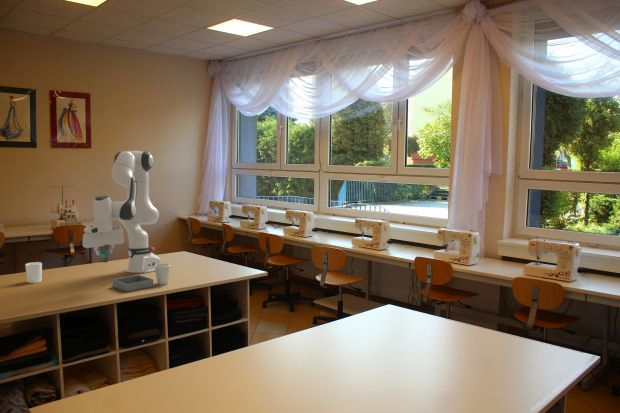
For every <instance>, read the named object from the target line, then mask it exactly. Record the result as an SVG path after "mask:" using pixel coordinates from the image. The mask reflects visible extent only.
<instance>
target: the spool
mask: <svg viewBox="0 0 620 413" xmlns="http://www.w3.org/2000/svg"><path fill="white" fill-rule="evenodd" d="M110 248H111V247H110V245H104V246H100V247H99V252H100V254H101V255H98V262H99V263H108V262H109V261H108V260H109V255H110V254H109V250H110Z"/></svg>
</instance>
